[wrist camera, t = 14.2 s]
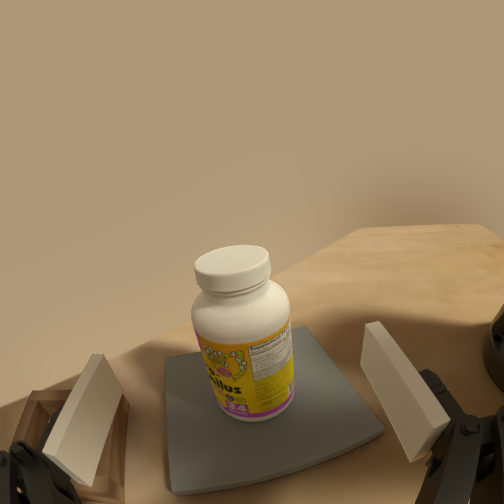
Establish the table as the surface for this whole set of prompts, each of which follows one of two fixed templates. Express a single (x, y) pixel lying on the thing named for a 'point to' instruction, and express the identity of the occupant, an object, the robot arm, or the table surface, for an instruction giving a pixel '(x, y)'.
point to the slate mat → (260, 424)
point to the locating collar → (113, 454)
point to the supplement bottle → (244, 332)
